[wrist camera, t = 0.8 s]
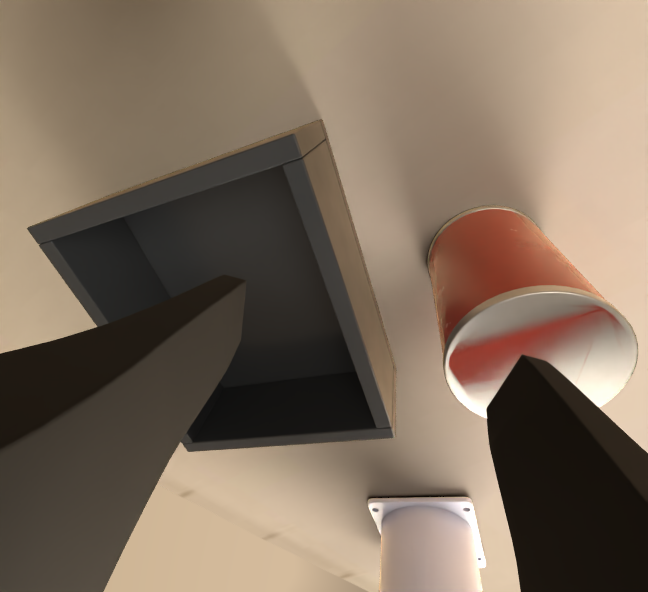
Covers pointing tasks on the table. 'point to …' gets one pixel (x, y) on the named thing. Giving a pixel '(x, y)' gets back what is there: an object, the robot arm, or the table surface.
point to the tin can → (520, 310)
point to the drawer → (248, 287)
